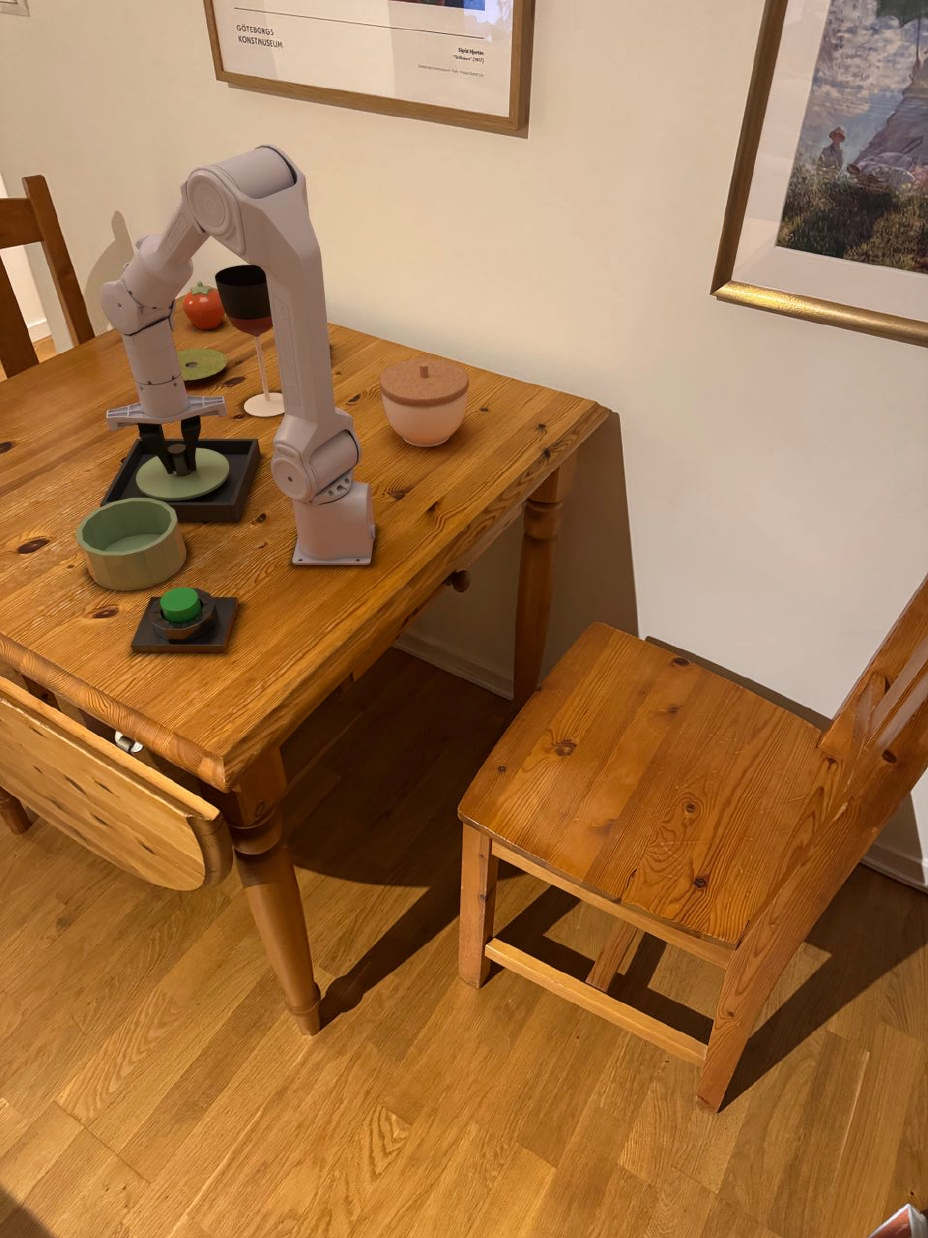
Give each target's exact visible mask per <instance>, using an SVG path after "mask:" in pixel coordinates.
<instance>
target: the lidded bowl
mask: <svg viewBox="0 0 928 1238" xmlns="http://www.w3.org/2000/svg"><path fill="white" fill-rule="evenodd" d="M469 377H470V376H469V374H468V372H467V370H466V369H465V368H464V367H462V366H461V365H459V364H457V363H455V362H453V361H452V360H451V361H450V360H448V359H443V358H435V357H415V358H409V359H404V360H401V361H398V362H394V363H393V364H391V365H389V366H388V367H386V368H385V369H384V370H383V371H382V372H381V374H380V376H379V382H378V383H379V389H380V393H381V402H382V407H383V408H382V409H383V411H384V415H385V417H386V420H387V422H388V424H389V426H390V427H391V428H392V430H393V431H394V432H395V434H397V435H398V436H400V437H401V438H402V440H403V441H405V443H407V444H409V445H411V446H414V447H420V448H431V447H432V448H433V447H437V446H441V445H442V444H444V443H447V441H449V439H450V437H451V436H452V435H454V433H456V431H458V429H459V428H460V426H461V424H462V423H463V421H464V418H465V416H466V412H467V407H468V400H469V399H468V398H469V387H470V378H469Z"/></svg>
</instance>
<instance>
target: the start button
mask: <svg viewBox="0 0 928 1238" xmlns="http://www.w3.org/2000/svg"><path fill="white" fill-rule="evenodd" d="M191 588H192V587H188V586H187V587H186V586H180V587H175V588H172V589H169V590H168V591H166V592H165V593H164V594H162V595H163V596H162V595H161V596H162V598H161V600H160V604H161V607H162V610H163V614H164V616H165V618H166V619H167V620H169V621H171V622H185V621H188V620H191V619H193V618H195V617H196V616H197V615H198V614H199V612H200V610H201V604H200V601H199V597H198V594H197V592H196V591H195V590H193V589H191Z"/></svg>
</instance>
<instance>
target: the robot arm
mask: <svg viewBox="0 0 928 1238" xmlns="http://www.w3.org/2000/svg"><path fill="white" fill-rule="evenodd" d="M307 189H308V188H307V179H306V175H305V174H304V173H303V171H302V170H301V169H300V168H299V167H298V165H297V164H295V162H294V161H293V160H292V159H291V157H290V156H289V155H288V153H286V152H285V151H284V150H283V149H282V148H280V147H278V146H277V145H274V144H272V143H264V144H260V145H259V146H257V147H255V148H254V149H252V150H249V151H246V152H243V153H240V154H237V155H234V156H231V157H229V158H226V159H223V160H219V161H217V162H214V163H211V164H202V165H198V166H196V167H195V168H193V169H192V171H191V172H190V173H189V175H188V178H187V179H186V180H185V181H184V182H182V183H181V184H180V186H179V190H180V195H181V198H180V199H179V202H178V204H177V206H176V207H175V209H174V211H173V213H172V215H171V217H170V219H169V220H168V222H167V224H166V226H165V228H164V230H163V232H162V233H161V234H160V233H159V234H158V233H157V234H148V235H145V236H142V237H140V238H138V239H137V240H136V242H135V244H134V245H135V247H136V248H137V251H136V252H135V254H134V255H133V257H132V258H131V260H130V261H129V262H125V263H124V265H123V266H122V267H121V268H122V271H123V273H122V274H121V276H120V278H118V279H117V280H111V281H107V282H104V283H103V284H101V289H100V292H99V302H100V305H101V309H102V311H103V313H104V315H105V317H106V319H107V320H108V322H109V323H110V324H111V325H112V327H113V328H114V329H116V330H117V331H118V332H120V336H121V340H122V343H123V347H124V350H125V353H126V358H127V360H128V364H129V367H130V371H131V375H132V378H133V381H134V385H135V387H136V388H135V389H136V393H137V395H138V399H139V402H136V403H132V404H128V405H125V406H122V407H118V408H113V409H107V410H106V413H105V414H106V415H105V419H106V422H107V425H108V429H109V431H110V432H113V431H114V432H115V431H119V430H120V428H125V427H132V426H137V427H138V437H139V439H142V441H143V442H144V443H146V444H147V445H148V446H149V447H150V448H151V449H152V450H153V451H154V453H155V454H156V455H157V456H158V458H159V459H160V461H161V462H162V464H163V465H164V467H165V469H166V471H167V473H168V474H173V468H172V465H171V461H170V458H169V454H168V447H167V445H166V441H165V439H166V437H165V434H164V433H165V432H164V429H163V425H166V424H172V423H176V422H180V433H181V435H182V436H181V437H182V439H184V442H185V445H186V449H187V453H188V459H189V465H190V469H191V471H196V470H197V468H196V459H195V457H196V447H197V442H198V439H200V436H201V431H202V419H201V418H205V417H214V416H218V417H219V418H225V417H228V409H227V405H226V404H227V403H226V400H225V396H224V395H219V396H207V395H206V396H204V395H188V394H187V390H186V386H185V380H183V377H182V373H181V368H180V364H179V360H178V356H177V352H178V351H177V348H176V343H175V340H174V336H173V333H174V331H175V329H176V325H175V322H174V315H175V313H176V310H177V300H176V297H178V295H179V294H180V293H181V291H183V289H184V288H185V286H186V285H187V283H188V282H189V281H190V279H191V278H192V276H193V275H194V262H193V256H195V254H196V253H197V252H198V251H199V249H200V248H201V247H202V246H203V245H204V244H205V243H206V241H207V240H208V239H210V237H212V238H213V239H214V240H215V241H217V242H218V243H220V244H221V245H222V246H223V247H225V248H226V249H227V250H229V251H230V252H232V253H233V254H235V255H236V256H237V257H238V258H239V259H241V260H242V261H244V262H245V263H246V264H247V265H257V266H260V267H261V268H262V269H263V270H264V272H265V274H266V279H267V286H268V293H269V301H270V308H271V315H272V323H273V327H272V331H273V337H274V344H275V352H276V359H277V365H278V366H277V367H278V373H279V379H280V380H279V381H280V389H281V394H282V396H283V403H284V411H285V412H284V416H283V418H282V420H281V422H280V424H279V427H278V428H277V430H276V433H275V434H274V436H273V440H272V445H273V455H272V457H271V460H270V473H271V475H272V478H273V481H274V483H275V484H276V486H277V488H278V489H279V490H280V491H281V493H283V494H284V495H285V496H287V497H288V498H289V499H291V503H292V510H293V517H294V522H295V528H296V533H297V539H296V544H295V548H294V552H293V556H292V560H291V563H292V565H294V566H369V565H370V564H371V561H372V554H373V547H374V541H375V538H376V525H375V517H374V516H375V515H374V504H373V494H372V488H371V484H370V483H368V482H363V481H357V480H355V479H353V478H355V469H354V468H355V467H357V466H358V465H359V464H360V462H361V460H362V457H363V456H362V455H363V449H362V445H361V442H360V440H359V438H358V436H357V434H356V430H355V426H354V417H353V416H352V415H350V414H349V413H348V412H347V411H345V410H344V409H342V408H340V407H338V406H336V405H335V404H336V403H335V402H336V401H335V391H334V382H333V370H332V359H331V350H330V349H331V348H330V335H329V336H328V330H329V327H328V316H327V315H328V314H327V305H326V303H327V302H326V293H325V284H324V283H325V282H324V272H323V271H324V270H323V262H322V261H323V259H322V253H321V247H320V244H319V241H318V237H317V235H316V232H315V229H314V227H313V224H312V221H311V217H310V210H309V200H308V190H307Z"/></svg>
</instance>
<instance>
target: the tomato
mask: <svg viewBox="0 0 928 1238" xmlns="http://www.w3.org/2000/svg"><path fill="white" fill-rule="evenodd" d="M189 290H190V291H188V292H187V293H185V296H184V297H183V299H182V309H183V312H184V315H185V316H186V317H187V319H188V320H189V321H190V322H191V323H192V324H193V325H194V326H195V327H196V328H198V329H200V330H213V329H216V328H217V327H220V324H222V322H223V320H224V318H225V316H226V313H225V311H224V308H223V306H222V303H221V300H220V296H219V293H218V289H214V288H213V287H212V286H209V285H206V284H203V282H202V281H201V280H198V281H197V282H196V285H195V286H193V287H190V289H189Z"/></svg>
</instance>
